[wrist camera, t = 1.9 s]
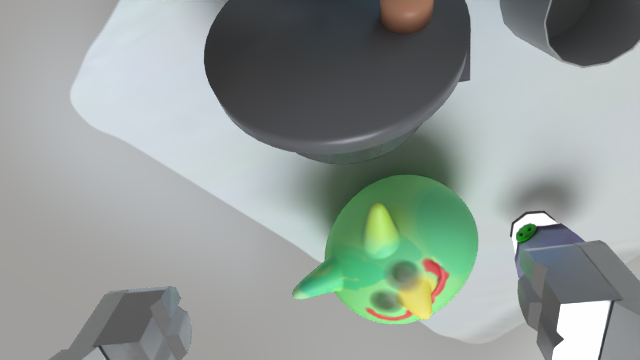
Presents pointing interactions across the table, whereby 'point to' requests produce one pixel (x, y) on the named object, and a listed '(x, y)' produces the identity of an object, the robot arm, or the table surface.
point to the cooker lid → (335, 68)
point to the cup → (576, 28)
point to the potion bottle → (539, 234)
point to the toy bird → (397, 251)
